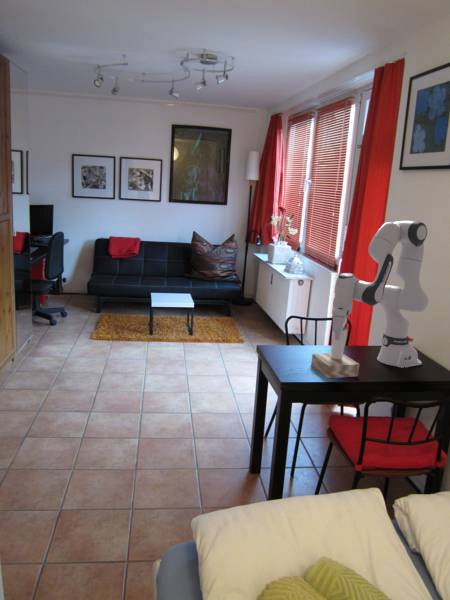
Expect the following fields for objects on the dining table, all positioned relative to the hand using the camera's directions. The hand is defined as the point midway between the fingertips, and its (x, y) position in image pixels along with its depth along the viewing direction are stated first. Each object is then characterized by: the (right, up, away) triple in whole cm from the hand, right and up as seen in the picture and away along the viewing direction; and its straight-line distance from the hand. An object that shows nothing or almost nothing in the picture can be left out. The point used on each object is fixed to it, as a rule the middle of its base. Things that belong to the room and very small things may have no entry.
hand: (338, 336), depth 238 cm
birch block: (-1, -17, +4) cm, 17 cm away
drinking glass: (0, -11, +3) cm, 11 cm away
